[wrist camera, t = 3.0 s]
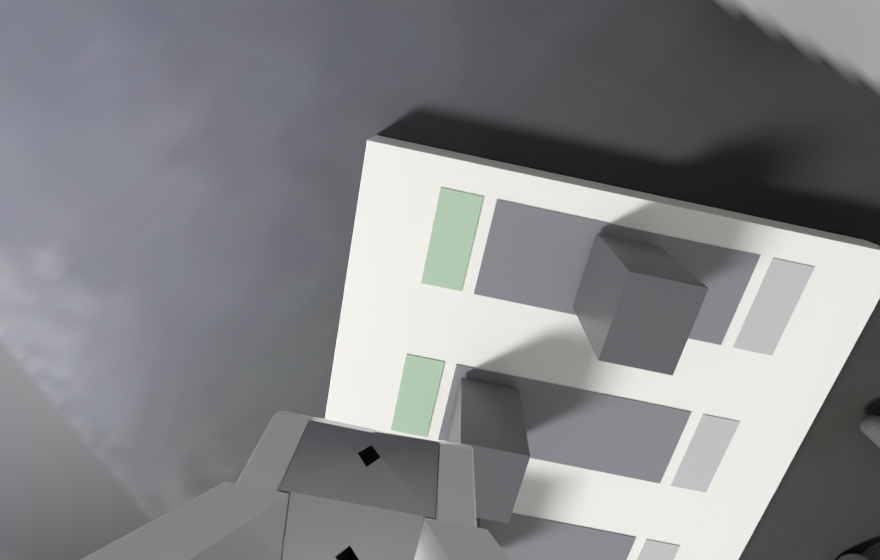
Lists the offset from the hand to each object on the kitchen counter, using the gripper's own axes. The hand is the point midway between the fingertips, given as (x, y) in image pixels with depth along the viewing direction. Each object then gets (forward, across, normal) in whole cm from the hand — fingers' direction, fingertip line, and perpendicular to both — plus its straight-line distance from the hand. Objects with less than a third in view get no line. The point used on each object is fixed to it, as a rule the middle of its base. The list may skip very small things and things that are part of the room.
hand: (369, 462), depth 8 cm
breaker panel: (+15, -7, +7) cm, 18 cm away
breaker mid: (+12, -4, +7) cm, 15 cm away
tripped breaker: (+12, -7, 0) cm, 14 cm away
